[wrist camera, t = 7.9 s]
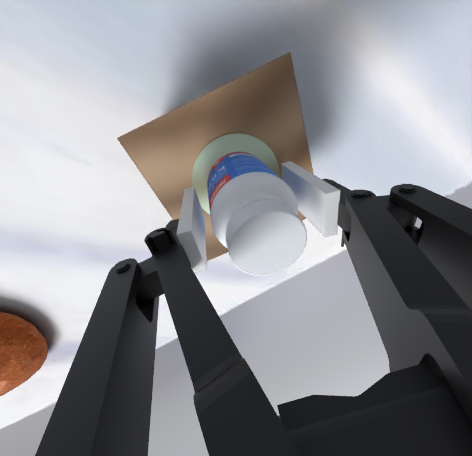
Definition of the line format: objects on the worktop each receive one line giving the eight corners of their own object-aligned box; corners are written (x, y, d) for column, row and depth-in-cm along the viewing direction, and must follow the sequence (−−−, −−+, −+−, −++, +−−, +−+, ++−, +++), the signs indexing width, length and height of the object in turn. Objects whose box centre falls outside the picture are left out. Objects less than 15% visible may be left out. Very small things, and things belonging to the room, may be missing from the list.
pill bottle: (208, 146, 16) (219, 187, 8) (271, 153, 17) (339, 195, 9) (204, 208, 19) (210, 287, 11) (259, 210, 20) (304, 284, 12)
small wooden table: (143, 128, 22) (115, 138, 15) (259, 71, 21) (291, 51, 14) (202, 225, 30) (202, 264, 22) (290, 186, 29) (322, 213, 21)
